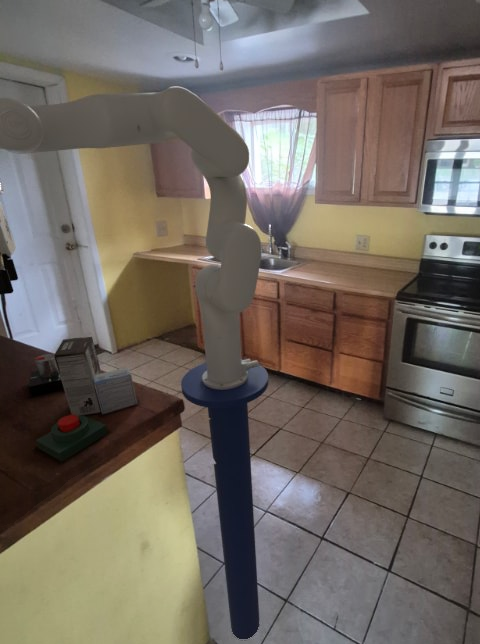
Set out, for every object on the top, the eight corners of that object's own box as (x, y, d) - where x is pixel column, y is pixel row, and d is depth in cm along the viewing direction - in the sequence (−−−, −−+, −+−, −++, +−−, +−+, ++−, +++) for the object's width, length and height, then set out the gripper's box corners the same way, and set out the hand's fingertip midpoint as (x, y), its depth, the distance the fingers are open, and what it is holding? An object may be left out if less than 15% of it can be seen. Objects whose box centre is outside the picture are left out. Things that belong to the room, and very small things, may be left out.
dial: (59, 369, 100) (54, 351, 98) (59, 375, 97) (54, 357, 95) (40, 372, 98) (35, 355, 96) (39, 380, 95) (34, 361, 93)
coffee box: (79, 397, 93) (62, 338, 87) (107, 392, 95) (93, 335, 89) (70, 417, 85) (52, 355, 79) (101, 412, 87) (85, 350, 81)
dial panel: (71, 373, 105) (69, 363, 103) (73, 387, 98) (70, 377, 96) (33, 381, 100) (30, 371, 99) (32, 397, 93) (28, 386, 92)
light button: (73, 419, 79) (71, 412, 78) (83, 424, 77) (81, 417, 77) (56, 428, 76) (53, 421, 75) (66, 434, 74) (64, 427, 74)
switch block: (84, 422, 84) (80, 407, 82) (107, 433, 80) (104, 418, 79) (38, 448, 76) (33, 432, 74) (62, 462, 72) (57, 445, 71)
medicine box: (134, 396, 94) (128, 366, 90) (138, 405, 90) (131, 373, 87) (99, 406, 90) (91, 375, 86) (102, 415, 86) (93, 383, 83)
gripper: (-5, 186, 55) (27, 296, 62) (7, 183, 69) (32, 274, 76) (-72, 186, 52) (-30, 303, 58) (-46, 183, 65) (-14, 278, 72)
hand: (5, 286), depth 67 cm, fingers open, 9 cm apart
